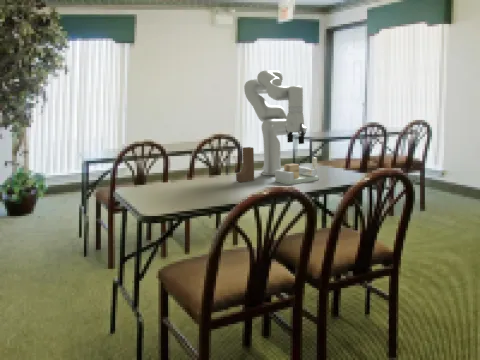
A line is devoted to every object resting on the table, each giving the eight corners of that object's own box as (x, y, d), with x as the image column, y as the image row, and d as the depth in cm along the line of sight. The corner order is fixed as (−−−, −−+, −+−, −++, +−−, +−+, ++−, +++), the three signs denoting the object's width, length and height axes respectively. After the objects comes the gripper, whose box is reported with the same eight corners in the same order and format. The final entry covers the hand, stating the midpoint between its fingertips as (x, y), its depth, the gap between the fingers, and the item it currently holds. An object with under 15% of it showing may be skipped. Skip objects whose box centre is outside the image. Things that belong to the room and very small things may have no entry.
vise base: (275, 181, 261) (275, 170, 260) (304, 176, 271) (304, 166, 270) (289, 184, 251) (289, 173, 250) (318, 179, 261) (318, 168, 260)
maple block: (284, 177, 260) (284, 164, 258) (293, 176, 263) (293, 163, 261) (290, 178, 255) (290, 165, 254) (299, 177, 259) (299, 164, 257)
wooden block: (240, 182, 260) (239, 149, 257) (236, 181, 264) (235, 148, 260) (254, 180, 264) (253, 147, 261) (250, 179, 268) (249, 146, 265)
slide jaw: (297, 173, 268) (297, 158, 267) (309, 171, 273) (309, 156, 271) (311, 176, 258) (311, 160, 257) (323, 174, 263) (323, 158, 261)
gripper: (280, 110, 260) (280, 142, 263) (299, 111, 245) (299, 145, 248) (291, 109, 263) (291, 141, 266) (311, 110, 248) (311, 143, 252)
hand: (295, 142), depth 257 cm, fingers open, 9 cm apart
